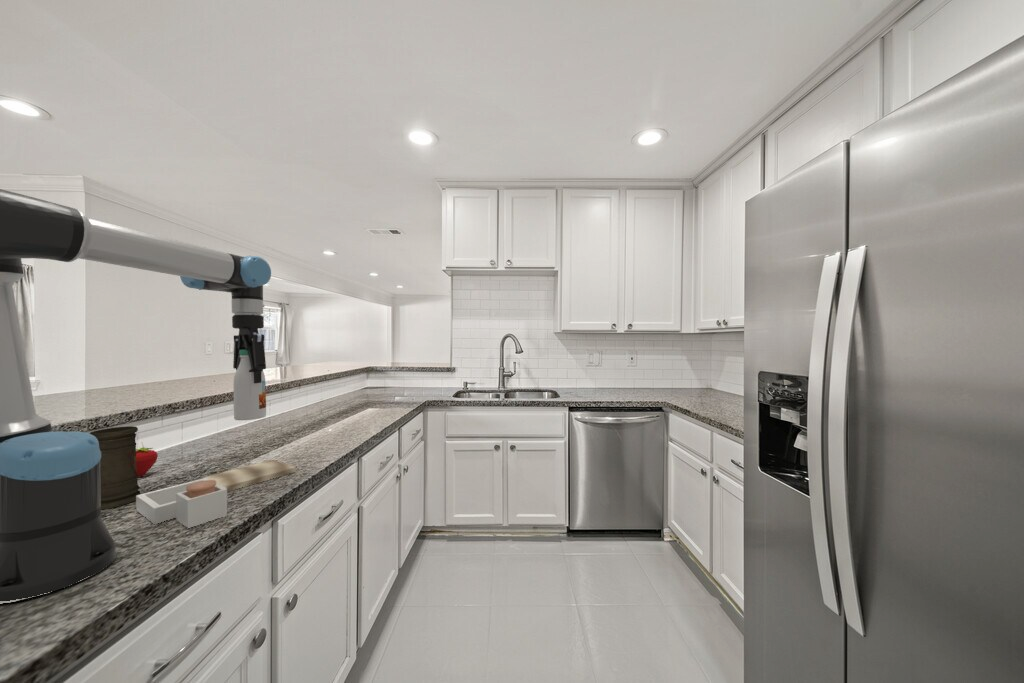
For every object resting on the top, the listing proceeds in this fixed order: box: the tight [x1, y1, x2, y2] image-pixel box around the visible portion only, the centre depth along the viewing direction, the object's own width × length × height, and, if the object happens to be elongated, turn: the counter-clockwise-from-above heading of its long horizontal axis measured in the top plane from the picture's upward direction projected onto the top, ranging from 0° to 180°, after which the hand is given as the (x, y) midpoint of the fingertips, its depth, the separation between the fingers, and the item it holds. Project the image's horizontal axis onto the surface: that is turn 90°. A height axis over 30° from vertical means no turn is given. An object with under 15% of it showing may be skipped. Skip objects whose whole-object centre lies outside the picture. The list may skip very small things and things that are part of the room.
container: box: [88, 425, 142, 510], centre depth 95 cm, size 9×9×18 cm
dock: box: [135, 477, 228, 529], centre depth 90 cm, size 13×22×6 cm, turn 56°
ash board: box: [203, 459, 297, 493], centre depth 112 cm, size 18×14×2 cm
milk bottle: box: [233, 349, 267, 421], centre depth 112 cm, size 8×8×20 cm
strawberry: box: [136, 441, 159, 478], centre depth 114 cm, size 6×8×10 cm
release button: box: [186, 480, 216, 498], centre depth 86 cm, size 5×5×6 cm
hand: (249, 393), depth 112 cm, fingers closed on milk bottle, 7 cm apart
